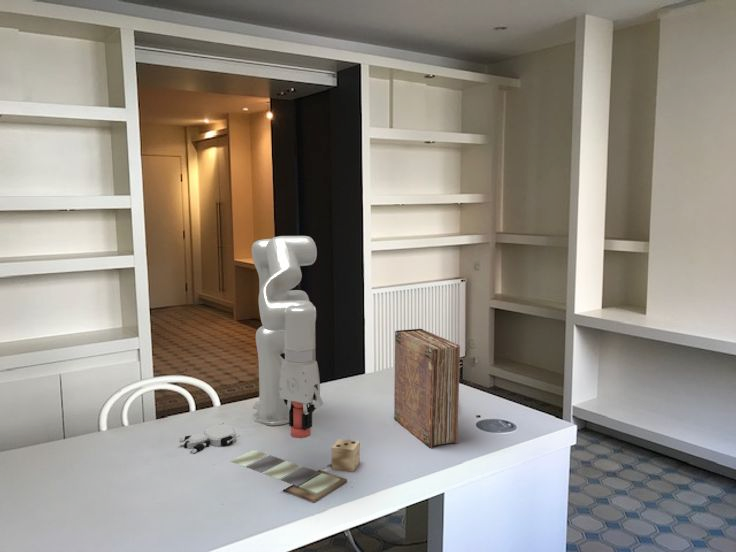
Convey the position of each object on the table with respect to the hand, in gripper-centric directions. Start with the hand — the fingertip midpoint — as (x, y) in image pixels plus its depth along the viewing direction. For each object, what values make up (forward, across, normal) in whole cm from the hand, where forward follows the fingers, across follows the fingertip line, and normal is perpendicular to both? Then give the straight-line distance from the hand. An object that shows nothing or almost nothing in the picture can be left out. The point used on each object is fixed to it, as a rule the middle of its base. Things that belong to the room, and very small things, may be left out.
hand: (300, 425), depth 149 cm
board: (+15, -6, 0) cm, 16 cm away
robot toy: (+15, -36, +1) cm, 39 cm away
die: (+15, +4, +14) cm, 21 cm away
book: (+15, +8, +48) cm, 51 cm away
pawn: (+2, 0, 0) cm, 2 cm away
